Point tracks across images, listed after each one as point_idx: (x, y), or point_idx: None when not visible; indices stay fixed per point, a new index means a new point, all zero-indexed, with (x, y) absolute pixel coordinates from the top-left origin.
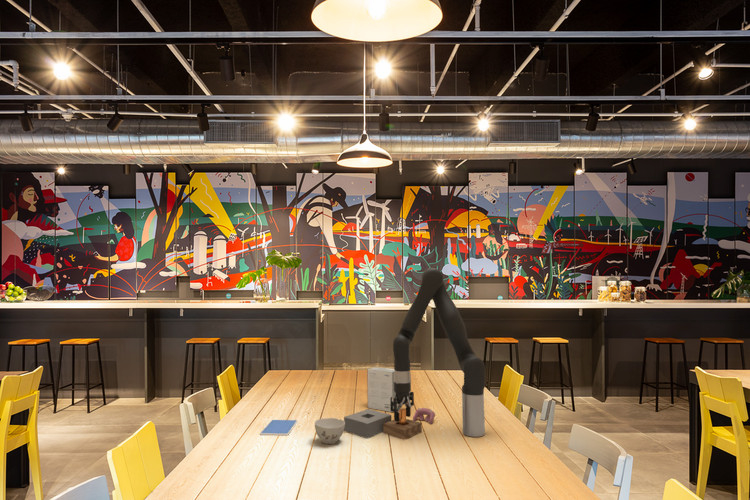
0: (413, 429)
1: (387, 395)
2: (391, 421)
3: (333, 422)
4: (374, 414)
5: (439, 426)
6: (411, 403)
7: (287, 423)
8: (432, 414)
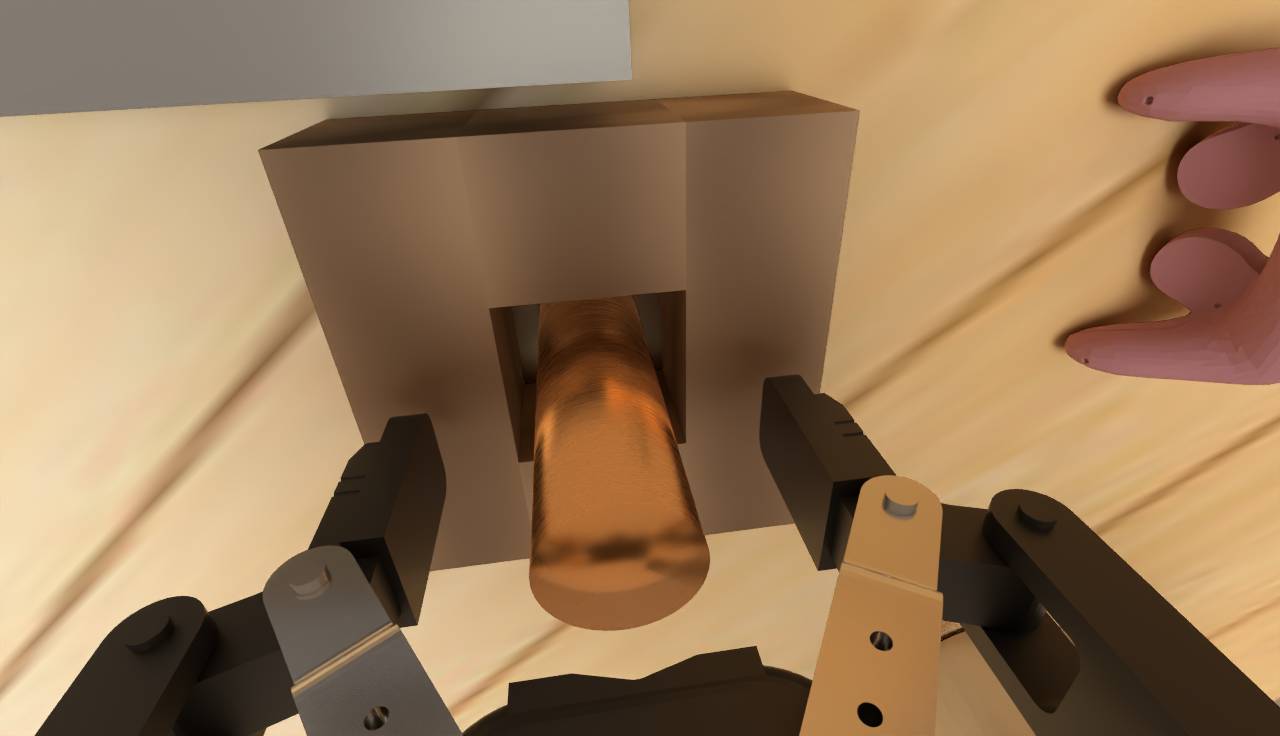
0: None
1: None
2: (515, 176)
3: None
4: None
5: (1029, 445)
6: (981, 629)
7: None
8: (1231, 383)
